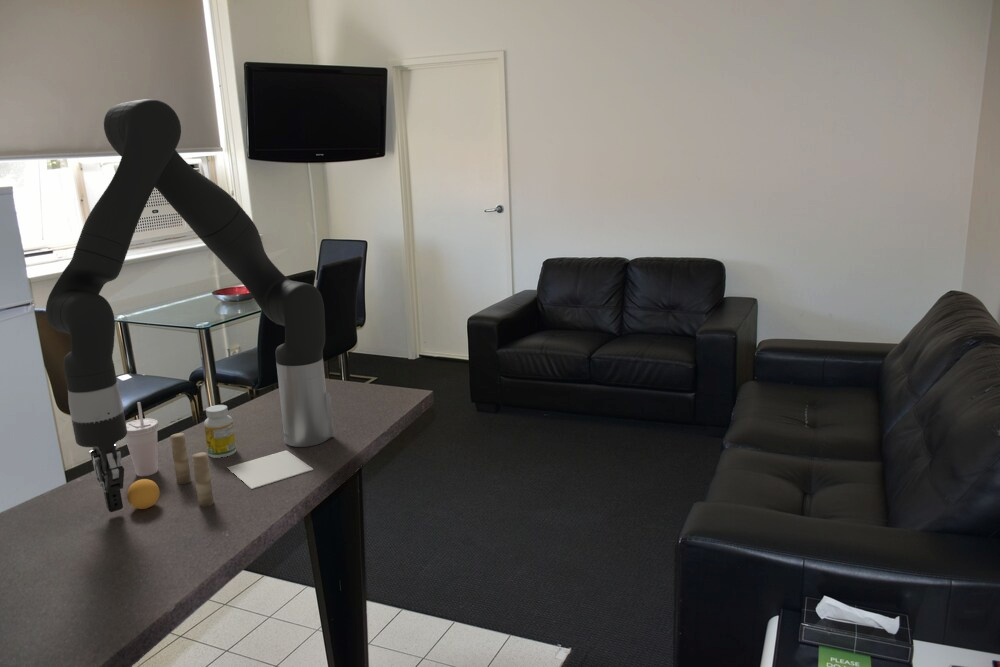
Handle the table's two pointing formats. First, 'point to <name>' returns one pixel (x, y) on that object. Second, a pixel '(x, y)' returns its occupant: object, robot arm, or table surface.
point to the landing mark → (269, 469)
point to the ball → (143, 494)
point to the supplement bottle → (219, 432)
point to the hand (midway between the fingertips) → (115, 509)
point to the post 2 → (202, 479)
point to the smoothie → (143, 444)
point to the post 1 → (180, 458)
